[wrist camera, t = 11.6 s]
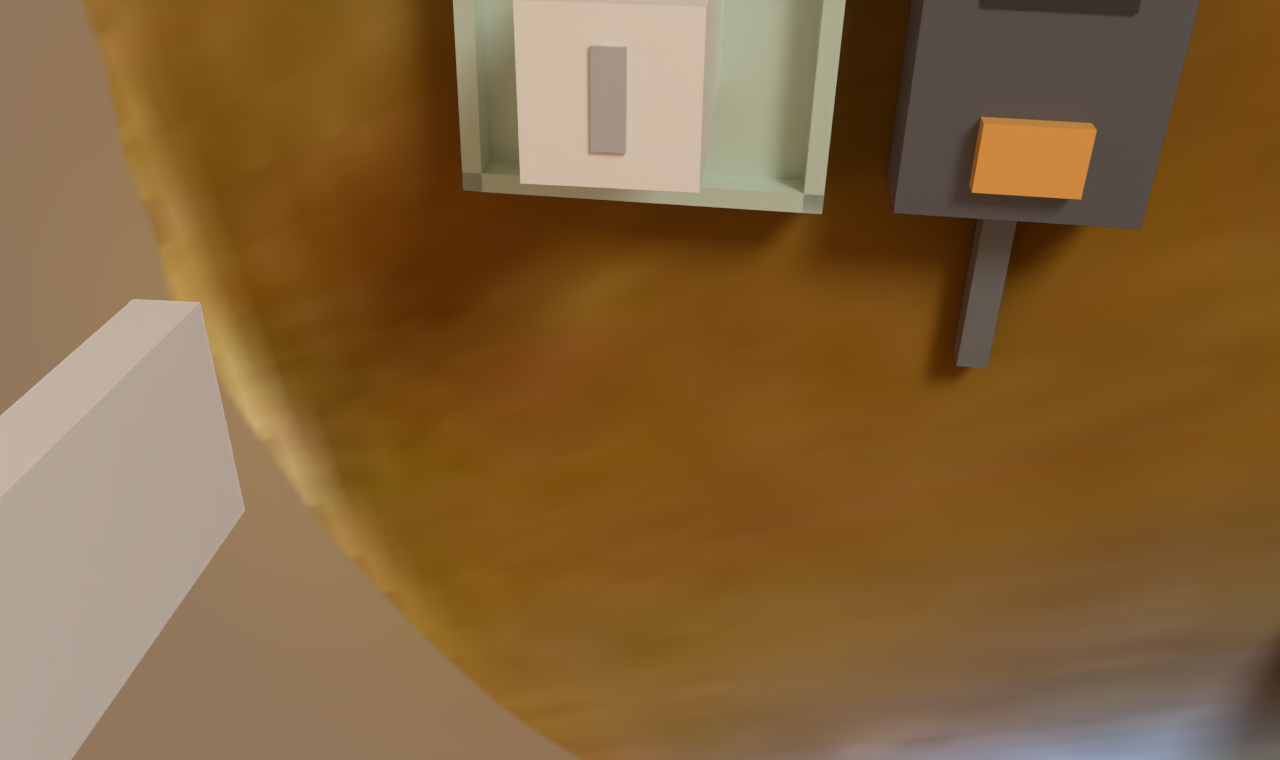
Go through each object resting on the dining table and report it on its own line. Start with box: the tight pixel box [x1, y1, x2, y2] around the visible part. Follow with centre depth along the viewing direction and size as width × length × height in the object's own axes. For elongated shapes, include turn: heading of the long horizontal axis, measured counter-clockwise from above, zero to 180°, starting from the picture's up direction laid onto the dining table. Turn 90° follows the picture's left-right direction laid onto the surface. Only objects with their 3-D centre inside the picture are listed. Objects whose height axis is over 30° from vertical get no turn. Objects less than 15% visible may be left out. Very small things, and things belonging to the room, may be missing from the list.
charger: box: [513, 0, 723, 193], centre depth 30 cm, size 4×4×9 cm
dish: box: [453, 0, 846, 214], centre depth 34 cm, size 11×11×2 cm
